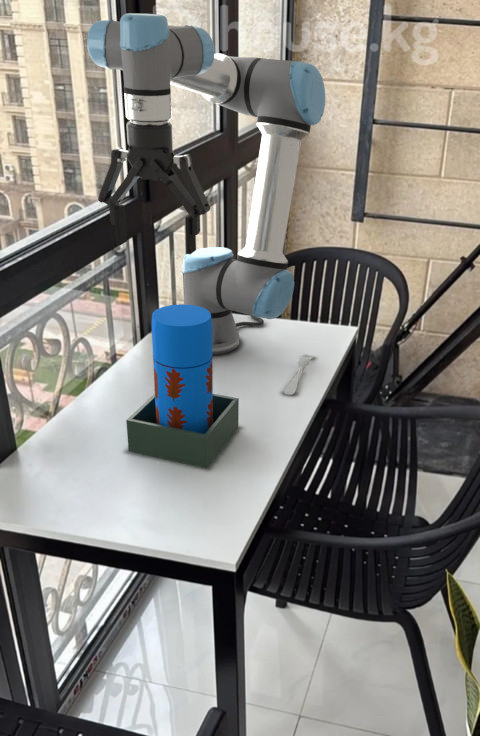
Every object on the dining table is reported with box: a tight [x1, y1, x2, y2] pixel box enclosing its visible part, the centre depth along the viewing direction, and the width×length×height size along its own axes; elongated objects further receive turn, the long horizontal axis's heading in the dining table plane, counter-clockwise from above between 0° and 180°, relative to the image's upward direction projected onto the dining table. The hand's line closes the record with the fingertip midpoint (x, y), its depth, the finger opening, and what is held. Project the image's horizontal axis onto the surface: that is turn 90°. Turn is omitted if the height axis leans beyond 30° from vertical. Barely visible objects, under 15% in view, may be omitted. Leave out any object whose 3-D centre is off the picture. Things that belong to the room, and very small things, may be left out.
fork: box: [283, 355, 314, 396], centre depth 175 cm, size 3×21×3 cm, turn 166°
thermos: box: [151, 303, 214, 434], centre depth 141 cm, size 11×11×25 cm
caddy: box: [125, 392, 240, 469], centre depth 146 cm, size 16×16×7 cm
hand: (156, 247), depth 137 cm, fingers open, 13 cm apart
